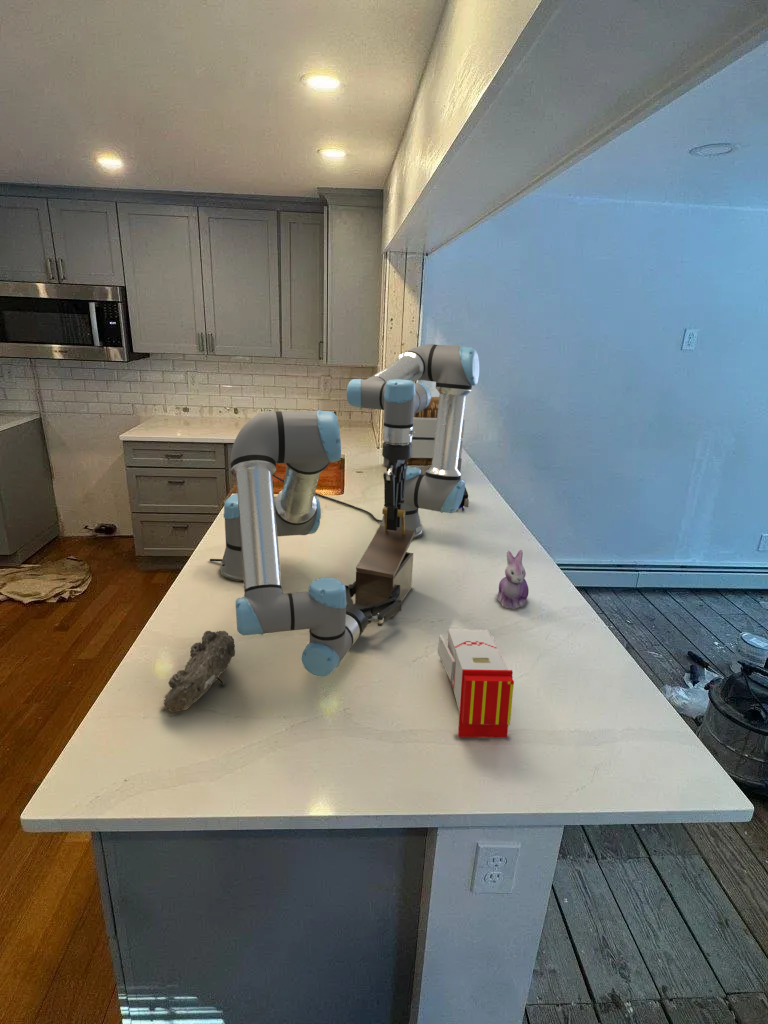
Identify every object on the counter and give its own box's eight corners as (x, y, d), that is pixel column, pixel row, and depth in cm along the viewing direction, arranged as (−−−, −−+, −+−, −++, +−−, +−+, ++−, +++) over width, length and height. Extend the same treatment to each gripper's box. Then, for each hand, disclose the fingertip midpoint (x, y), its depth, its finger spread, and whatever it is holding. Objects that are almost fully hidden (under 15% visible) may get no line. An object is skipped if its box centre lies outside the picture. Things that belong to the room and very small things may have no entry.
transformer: (382, 463, 289) (386, 382, 275) (445, 464, 293) (451, 384, 279) (390, 482, 257) (394, 392, 243) (460, 483, 261) (468, 394, 247)
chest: (377, 582, 164) (379, 547, 160) (411, 588, 161) (413, 553, 157) (354, 609, 149) (355, 571, 145) (391, 617, 145) (393, 579, 142)
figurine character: (468, 516, 224) (463, 500, 237) (471, 498, 221) (465, 483, 234) (452, 515, 224) (447, 499, 237) (453, 498, 220) (449, 482, 234)
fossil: (188, 633, 127) (235, 602, 122) (218, 661, 130) (265, 632, 125) (141, 705, 107) (195, 672, 102) (177, 737, 110) (232, 706, 105)
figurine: (511, 613, 150) (518, 561, 145) (487, 596, 158) (493, 547, 153) (538, 606, 154) (546, 556, 149) (513, 590, 163) (520, 542, 157)
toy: (488, 613, 130) (523, 677, 101) (484, 667, 133) (517, 744, 104) (435, 612, 130) (455, 676, 101) (432, 666, 133) (451, 743, 103)
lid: (380, 528, 159) (378, 502, 154) (415, 534, 156) (414, 507, 150) (356, 571, 145) (353, 544, 140) (393, 578, 142) (391, 551, 137)
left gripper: (301, 630, 133) (339, 590, 153) (391, 652, 127) (419, 607, 146) (300, 602, 131) (339, 565, 151) (393, 623, 124) (421, 581, 144)
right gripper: (402, 450, 137) (397, 540, 145) (419, 438, 150) (414, 521, 158) (373, 446, 139) (370, 535, 147) (392, 434, 152) (389, 516, 160)
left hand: (379, 585), depth 149 cm, fingers closed on chest, 10 cm apart
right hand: (393, 527), depth 153 cm, fingers closed on lid, 2 cm apart
